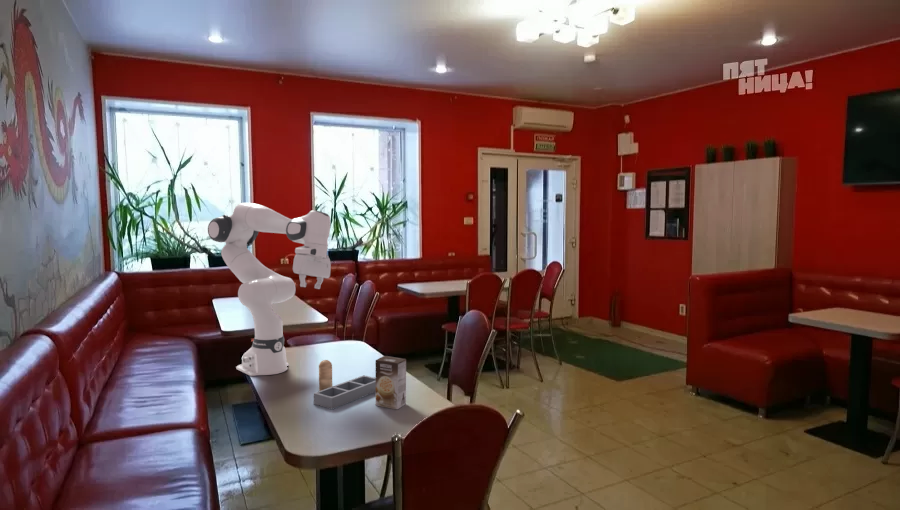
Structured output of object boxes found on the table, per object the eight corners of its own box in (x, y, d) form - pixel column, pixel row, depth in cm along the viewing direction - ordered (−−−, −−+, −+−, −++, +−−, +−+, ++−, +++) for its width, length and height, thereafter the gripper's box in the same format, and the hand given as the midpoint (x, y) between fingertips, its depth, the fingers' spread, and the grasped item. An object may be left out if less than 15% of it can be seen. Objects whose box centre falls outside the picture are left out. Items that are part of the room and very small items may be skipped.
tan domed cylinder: (316, 390, 199) (315, 360, 198) (326, 387, 203) (325, 357, 202) (325, 393, 197) (324, 362, 196) (335, 389, 200) (334, 359, 200)
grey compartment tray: (313, 403, 185) (313, 393, 185) (363, 384, 206) (363, 375, 206) (332, 409, 180) (331, 398, 180) (381, 389, 201) (381, 379, 201)
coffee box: (374, 405, 184) (374, 359, 182) (384, 400, 189) (384, 355, 188) (397, 410, 180) (397, 363, 179) (407, 403, 186) (406, 358, 184)
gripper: (323, 255, 218) (318, 289, 216) (292, 247, 199) (287, 285, 197) (336, 256, 216) (331, 290, 214) (306, 249, 197) (301, 286, 195)
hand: (310, 287), depth 206 cm, fingers open, 8 cm apart
